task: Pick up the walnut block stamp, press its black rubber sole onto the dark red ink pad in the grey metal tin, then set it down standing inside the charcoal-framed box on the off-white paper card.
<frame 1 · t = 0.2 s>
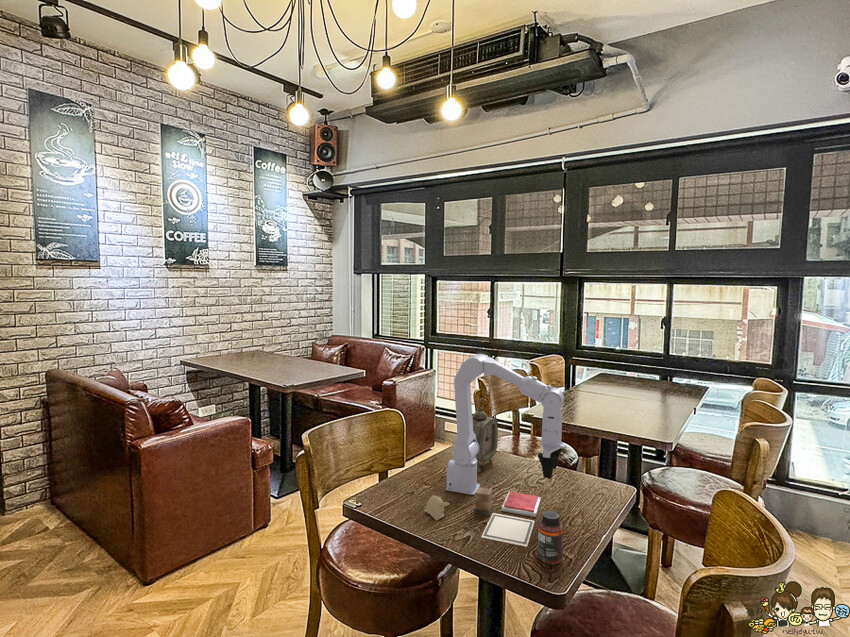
hand: (549, 472, 146), 10 cm above the table, tool pointing down, fingers open, 7 cm apart
tabletop clock: (477, 466, 176), on the table
decorative ornament: (436, 515, 139), on the table
stamp: (483, 510, 142), on the table
supplement bottle: (549, 559, 118), on the table
ink pad: (521, 505, 145), on the table
paper card: (508, 529, 132), on the table
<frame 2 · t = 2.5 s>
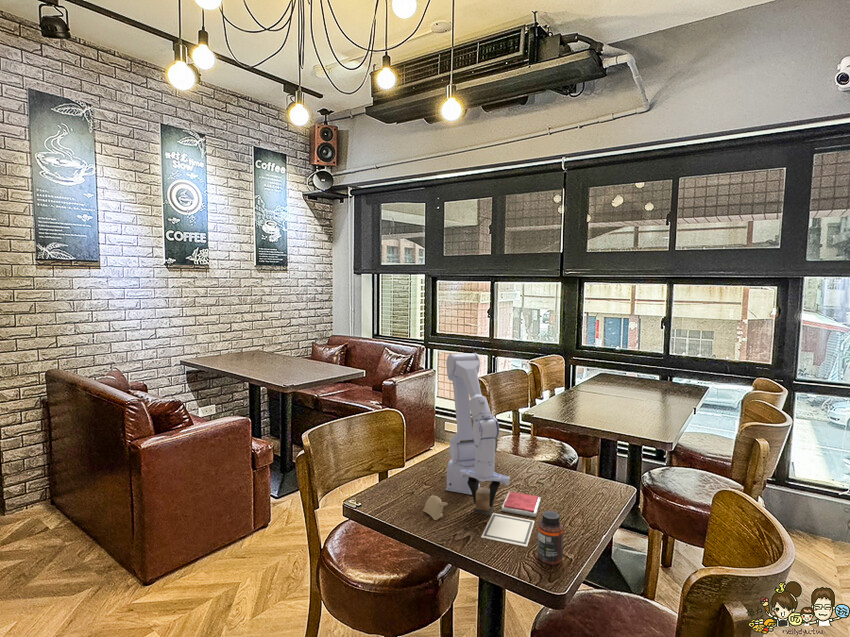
hand: (483, 503, 142), 2 cm above the table, tool pointing down, fingers closed on stamp, 4 cm apart
stamp: (483, 510, 142), on the table, touching gripper
everything else where it was.
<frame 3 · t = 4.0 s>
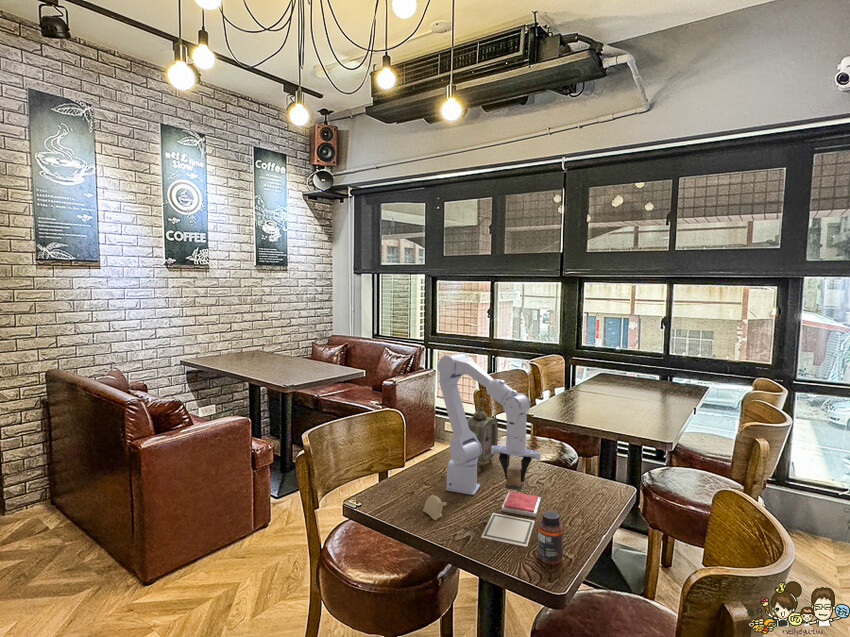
hand: (514, 479, 144), 8 cm above the table, tool pointing down, fingers closed on stamp, 4 cm apart
stamp: (514, 486, 144), point 6 cm above the table, touching gripper
everything else where it was.
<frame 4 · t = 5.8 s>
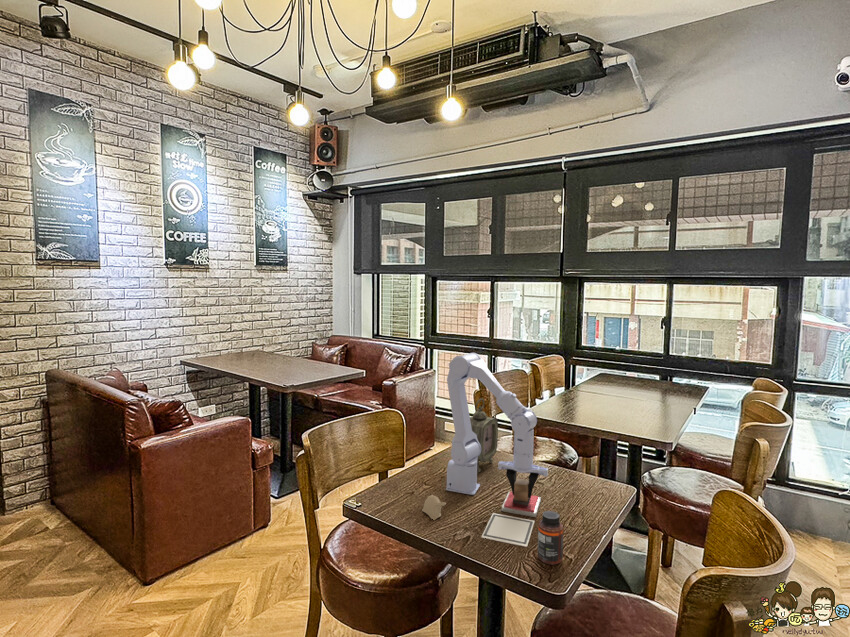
hand: (521, 495, 145), 3 cm above the table, tool pointing down, fingers closed on stamp, 4 cm apart
stamp: (521, 501, 145), point 2 cm above the table, touching gripper, ink pad
everything else where it was.
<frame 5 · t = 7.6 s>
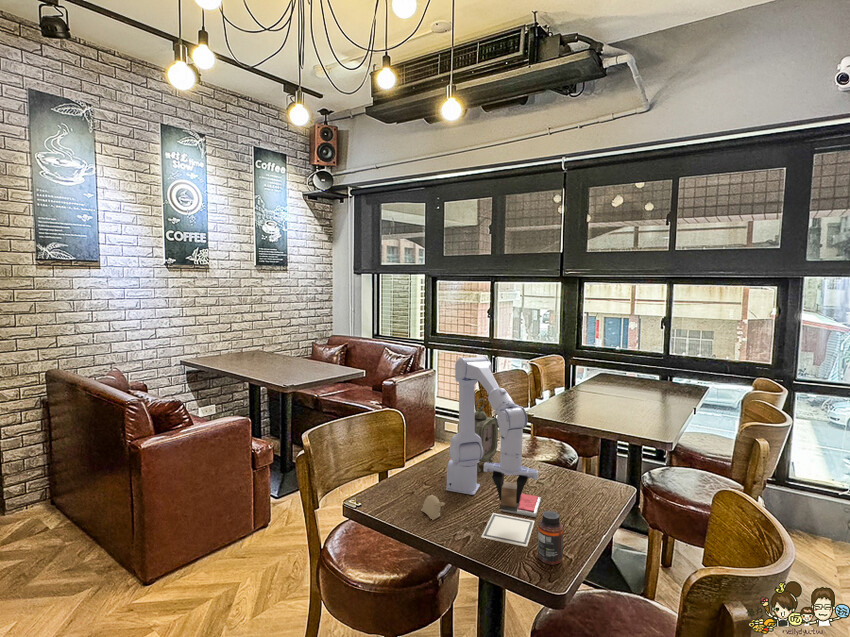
hand: (509, 500, 131), 8 cm above the table, tool pointing down, fingers closed on stamp, 4 cm apart
stamp: (509, 506, 131), point 6 cm above the table, touching gripper
when the fingers open (3 cm above the table, at t = 9.2 s): stamp drops 1 cm, resting on paper card.
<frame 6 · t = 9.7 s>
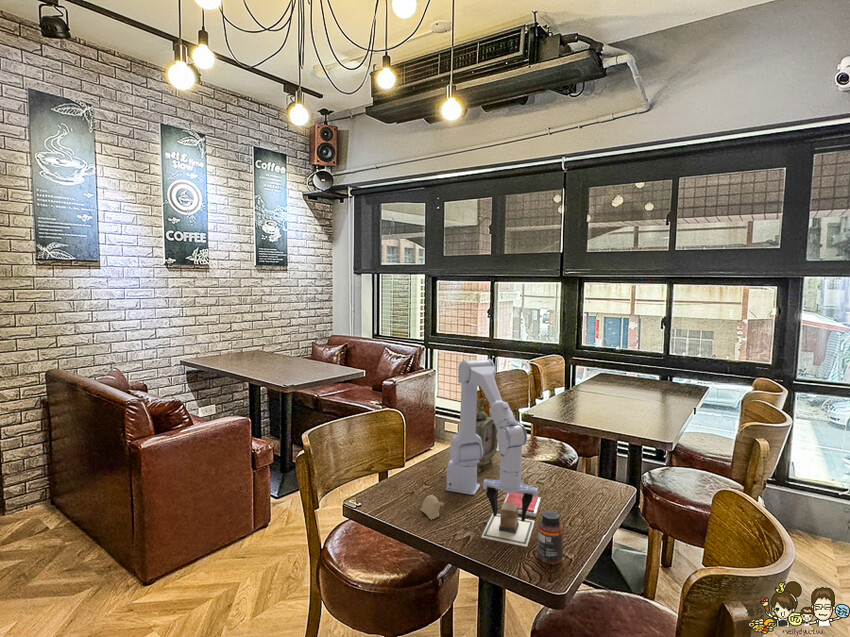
hand: (509, 517, 131), 3 cm above the table, tool pointing down, fingers open, 7 cm apart
stamp: (508, 528, 132), resting on paper card
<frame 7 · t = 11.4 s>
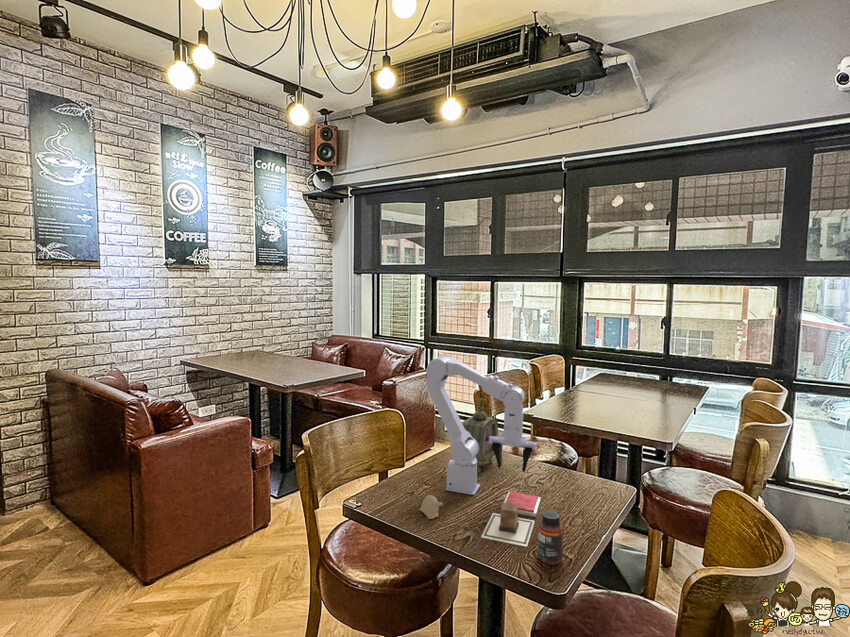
hand: (511, 468, 150), 9 cm above the table, tool pointing down, fingers open, 7 cm apart
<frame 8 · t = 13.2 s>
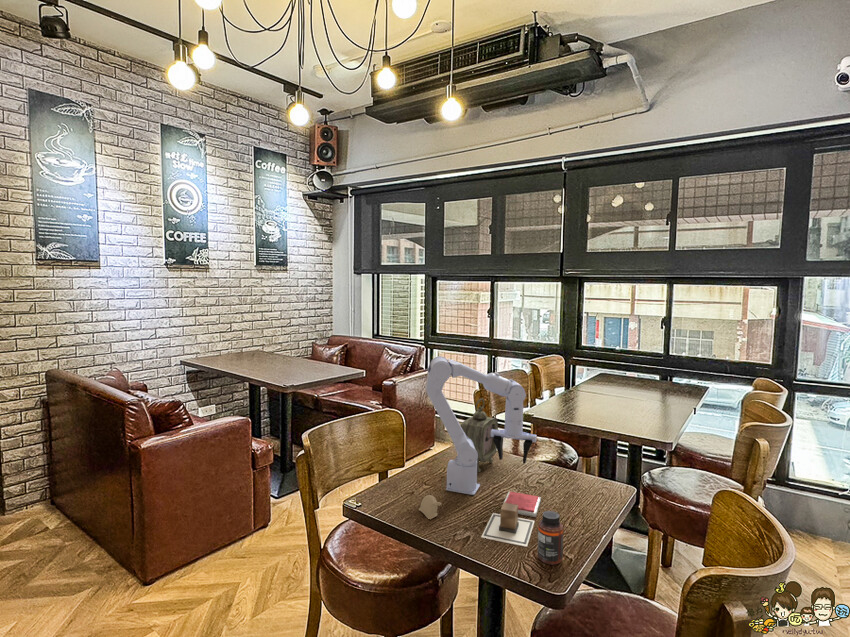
hand: (512, 460, 157), 9 cm above the table, tool pointing down, fingers open, 7 cm apart
at the end: stamp inside the target area on the paper card (0.3 cm from its centre), point 0.2 cm above the paper card's base; the gripper is holding nothing; stamp tilted 0° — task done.
